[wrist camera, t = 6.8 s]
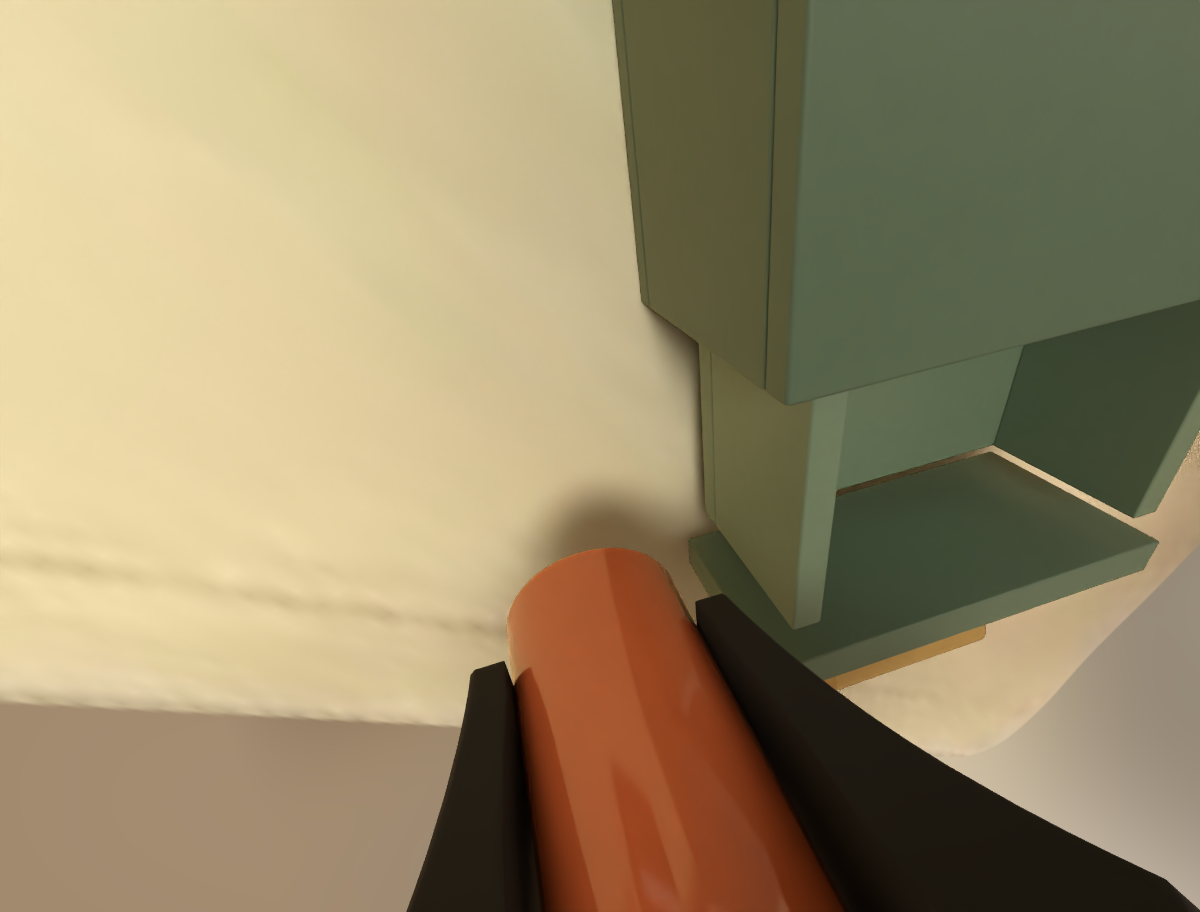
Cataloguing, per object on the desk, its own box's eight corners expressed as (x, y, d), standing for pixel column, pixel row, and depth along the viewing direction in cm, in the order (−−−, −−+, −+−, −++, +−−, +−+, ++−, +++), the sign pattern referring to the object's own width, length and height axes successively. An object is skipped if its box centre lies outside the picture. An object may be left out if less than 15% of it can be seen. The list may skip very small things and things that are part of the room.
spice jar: (672, 520, 12) (1025, 1091, 5) (683, 646, 14) (929, 1155, 7) (480, 575, 11) (537, 1338, 4) (524, 697, 13) (612, 1316, 6)
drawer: (961, 547, 23) (1098, 651, 18) (694, 633, 21) (767, 773, 16) (1083, 149, 15) (1389, 144, 10) (666, 231, 13) (796, 274, 8)
